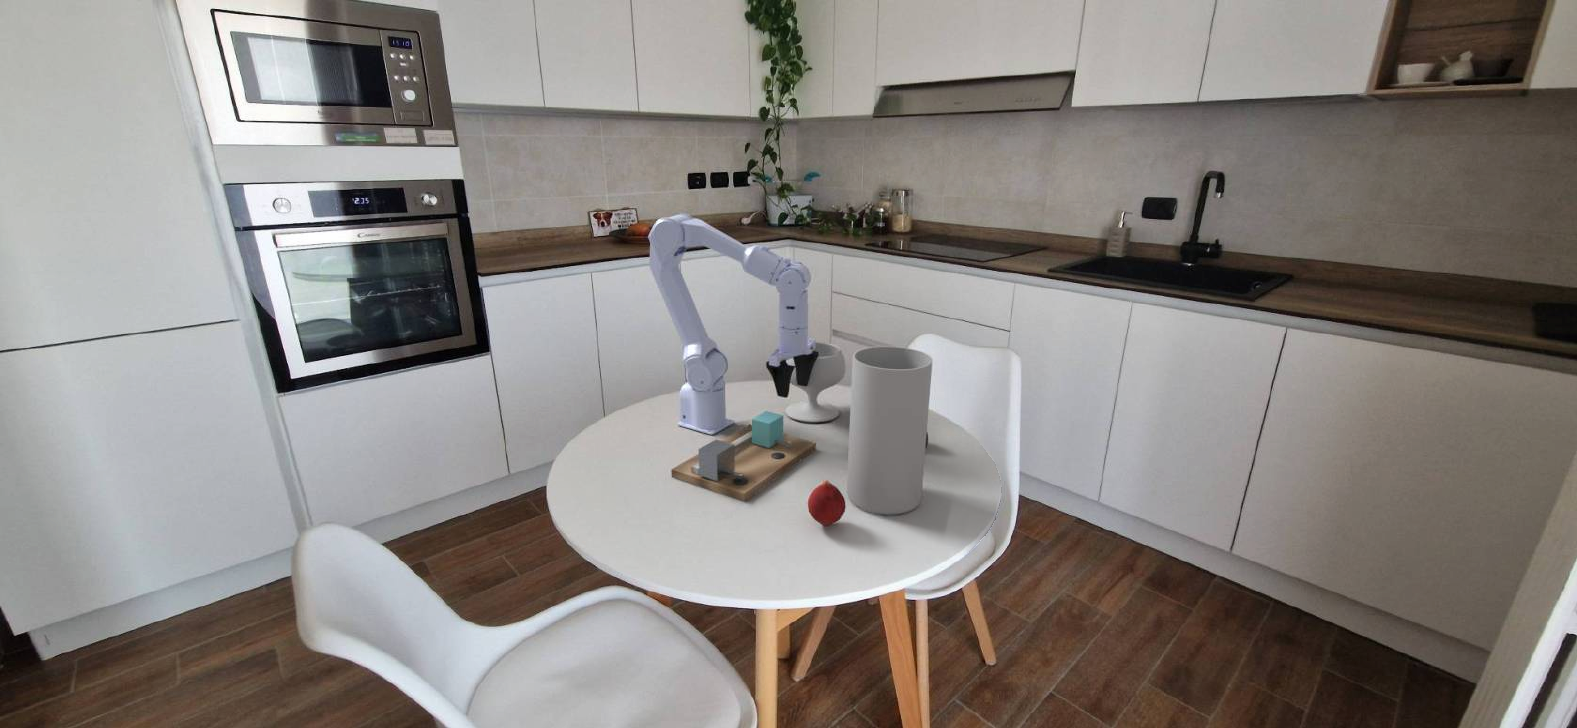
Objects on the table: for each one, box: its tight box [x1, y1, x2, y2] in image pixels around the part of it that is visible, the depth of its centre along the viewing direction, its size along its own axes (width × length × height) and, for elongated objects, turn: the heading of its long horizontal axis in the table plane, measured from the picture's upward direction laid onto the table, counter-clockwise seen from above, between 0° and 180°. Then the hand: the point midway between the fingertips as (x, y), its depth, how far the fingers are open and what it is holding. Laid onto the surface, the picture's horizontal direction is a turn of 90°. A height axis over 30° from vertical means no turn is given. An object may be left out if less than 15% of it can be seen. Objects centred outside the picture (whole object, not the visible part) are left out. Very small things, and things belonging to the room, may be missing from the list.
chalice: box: [784, 341, 846, 423], centre depth 146 cm, size 14×14×15 cm
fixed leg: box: [698, 438, 744, 481], centre depth 116 cm, size 8×5×5 cm, turn 58°
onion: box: [807, 478, 846, 527], centre depth 103 cm, size 6×6×8 cm
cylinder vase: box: [846, 345, 933, 516], centre depth 109 cm, size 12×12×25 cm
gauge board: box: [670, 424, 817, 502], centre depth 125 cm, size 16×24×3 cm, turn 148°
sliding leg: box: [751, 410, 793, 448], centre depth 129 cm, size 8×5×5 cm, turn 58°
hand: (792, 390), depth 135 cm, fingers open, 7 cm apart
